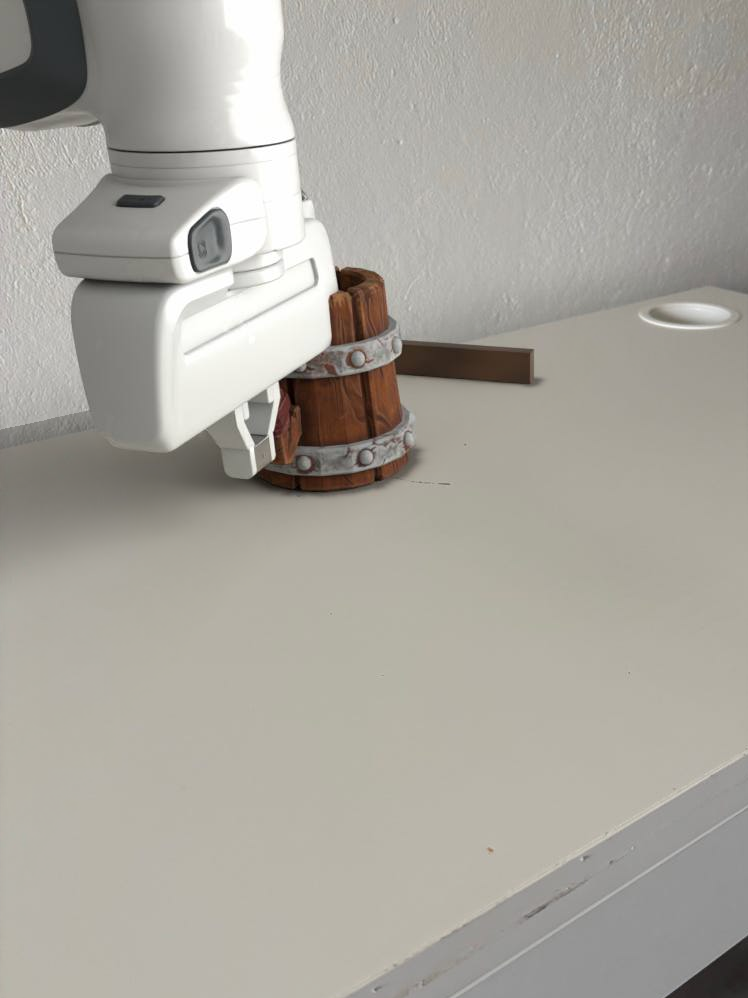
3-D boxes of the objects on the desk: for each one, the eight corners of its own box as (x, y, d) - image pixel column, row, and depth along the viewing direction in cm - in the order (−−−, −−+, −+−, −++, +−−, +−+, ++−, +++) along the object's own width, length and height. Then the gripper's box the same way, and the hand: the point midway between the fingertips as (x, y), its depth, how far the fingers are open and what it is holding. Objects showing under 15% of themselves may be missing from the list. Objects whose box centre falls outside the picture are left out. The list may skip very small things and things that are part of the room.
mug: (449, 430, 73) (426, 215, 63) (373, 546, 63) (332, 313, 53) (302, 415, 77) (258, 209, 67) (207, 524, 67) (139, 300, 57)
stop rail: (369, 371, 86) (366, 341, 85) (374, 367, 87) (372, 337, 86) (530, 384, 83) (530, 353, 81) (534, 379, 84) (534, 348, 82)
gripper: (257, 174, 60) (285, 404, 67) (23, 244, 43) (95, 539, 51) (356, 176, 58) (375, 412, 65) (152, 251, 42) (207, 555, 49)
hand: (251, 469), depth 58 cm, fingers closed
